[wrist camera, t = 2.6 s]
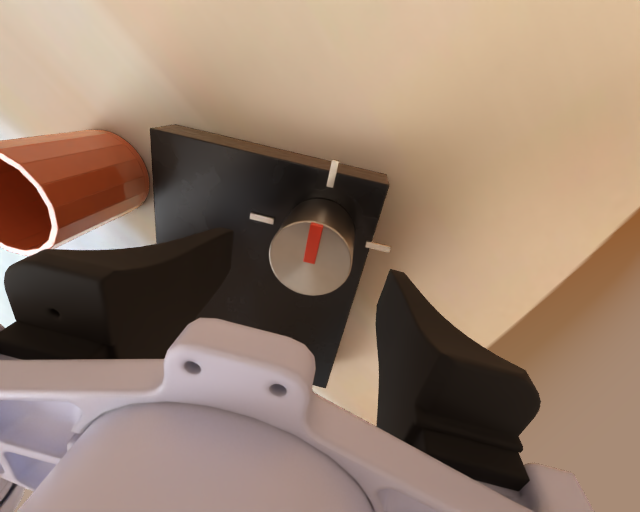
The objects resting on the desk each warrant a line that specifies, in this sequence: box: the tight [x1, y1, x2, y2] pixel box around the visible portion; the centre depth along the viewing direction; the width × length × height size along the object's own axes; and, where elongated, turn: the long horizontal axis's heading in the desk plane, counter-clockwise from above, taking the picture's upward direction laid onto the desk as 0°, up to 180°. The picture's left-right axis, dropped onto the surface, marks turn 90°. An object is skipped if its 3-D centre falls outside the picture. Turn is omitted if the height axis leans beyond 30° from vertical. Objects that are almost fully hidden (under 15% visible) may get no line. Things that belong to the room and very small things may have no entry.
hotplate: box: [150, 124, 391, 388], centre depth 21 cm, size 17×14×3 cm
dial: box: [269, 199, 355, 296], centre depth 16 cm, size 4×4×4 cm
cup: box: [0, 130, 149, 256], centre depth 18 cm, size 5×5×7 cm
